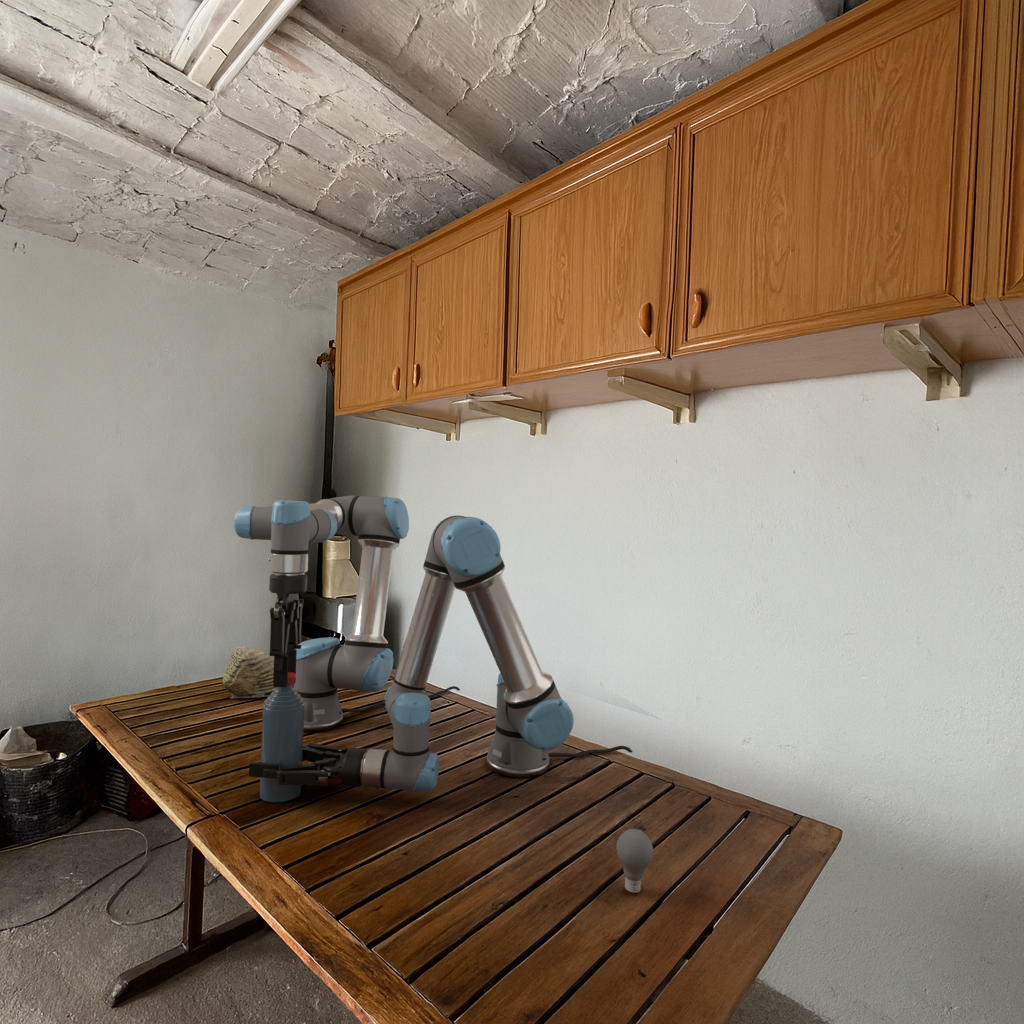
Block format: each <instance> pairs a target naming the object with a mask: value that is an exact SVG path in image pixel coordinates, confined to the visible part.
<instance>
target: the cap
mask: <svg viewBox="0 0 1024 1024" xmlns="http://www.w3.org/2000/svg"><path fill="white" fill-rule="evenodd" d="M295 683H296V673H293V672H288V683H287V686H288V685H292V684H293V685H294V684H295Z"/></svg>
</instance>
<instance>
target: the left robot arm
mask: <svg viewBox="0 0 1024 1024" xmlns="http://www.w3.org/2000/svg"><path fill="white" fill-rule="evenodd" d="M409 518H410V517H409V512H408V509H407V506H406V504H405V502H404V501H403V500H402V499H400V497H399V498H398V497H392V496H387V495H386V496H375V495H374V496H371V495H346V496H345V495H344V496H338V497H337V496H336V497H332V498H331V497H330V498H323V499H320V500H318V501H317V502H315V503H309V502H308V501H307V500H306V501H304V500H283V499H279V500H276V501H274V502H273V504H272V506H255V505H251V506H242V507H240V508H239V509H238V510H237V511H236V513H235V515H234V518H233V529H234V531H235V534H236V535H237V536H238V537H240V538H241V539H246V540H247V539H248V540H251V541H253V540H263V541H270V556H268V562H270V563H269V564H270V565H269V571H270V572H271V574H270V575H269V584H268V585H269V586H268V591H269V592H270V593H272V594H276V601H275V603H274V607H270V609H269V614H270V638H269V655H268V656H269V657H273V661H274V676H273V687H287V683H288V672H293V673H296V683H295V684H293V688H294V689H295V691H297V692H298V694H300V697H302V698H303V701H304V702H305V707H304V733H316V732H325V731H329V730H332V729H335V728H337V727H339V726H340V725H342V723H343V722H344V713H343V712H345V713H346V712H349V713H361V712H366V711H369V710H371V709H373V708H374V709H375V708H377V707H381V706H385V701H383V702H378V703H374V704H371V705H367V706H366V707H363V708H362V707H361V708H344V707H343V708H342V706H341V702H340V699H339V695H338V689H339V690H340V689H341V690H351V691H359V692H363V693H364V692H365V693H366V692H373V693H375V692H379V691H381V690H382V689H383V688H384V687H385V685H386V684H387V683H388V681H389V679H390V676H391V675H392V670H393V668H394V667H393V666H394V661H395V659H394V652H393V651H392V650H391V648H388V645H389V642H388V640H387V639H386V638H385V636H384V631H385V622H386V616H387V615H386V614H387V607H388V598H389V590H390V581H391V574H392V573H391V572H392V566H393V565H392V564H393V558H394V557H393V556H394V551H395V550H397V548H398V547H399V546H400V543H401V540H403V539H405V538H407V536H408V533H409V529H410V519H409ZM336 534H339V535H346V536H355V537H358V539H357V543H359V545H360V546H361V547H362V549H361V556H360V565H359V575H358V580H357V589H356V598H355V603H354V612H353V618H352V619H353V620H352V627H351V633H350V634H349V635H348V636H347V637H346V638H345V639H344V644H340V643H341V641H340V639H339V638H338V637H334V636H333V637H332V636H331V637H318V638H313V639H307V640H304V641H302V622H303V607H304V602H305V601H304V599H303V598H300V596H299V594H304V593H306V592H307V589H308V575H307V574H306V573H307V572H308V571H309V544H314V543H315V544H316V543H319V544H321V543H323V542H327V541H329V540H331V539H332V538H333V537H334V536H335V535H336ZM443 690H444V691H443ZM451 690H456V691H458V692H459V691H461V688H460V687H458V686H455V685H453V686H449V687H447V688H445V689H442V690H439V691H436V692H435V693H432V694H430V695H427V696H428V697H429V699H432V698H434V697H436V696H438V695H443V694H445V693H446V692H449V691H451Z"/></svg>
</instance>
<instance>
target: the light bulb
mask: <svg viewBox="0 0 1024 1024" xmlns="http://www.w3.org/2000/svg"><path fill="white" fill-rule="evenodd" d="M615 849H616V854H617V857H618V859H619V861H620V863H621V865H622V867H623V873H624V874H623V875H624V876H625V878H624V888H625V890H627V891H628V892H630V893H634V894H635V893H639V892H640V891H641V889H642V887H641V886H642V879H643V877H644V875H645V871H646V868H647V867H648V866H649V864H650V863H651V861H652V859H653V855H654V847H653V843H652V841H651V838H649V836H648V835H647V834H646V833H645V832H643V831H642V830H641V829H636V828H629V829H627V830H625V831H623V832H622V833H621V834H620V835H619V837H618V839H617V841H616V847H615Z"/></svg>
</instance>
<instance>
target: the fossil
mask: <svg viewBox="0 0 1024 1024" xmlns="http://www.w3.org/2000/svg"><path fill="white" fill-rule="evenodd" d="M222 676H223V677H222V685H223V687H224V688H225V690H226V691H228V693H229V698H230V699H250V698H264V697H268V696H270V695H271V693H272V692H274V689H276V687H273V676H274V659H272V657H270V655H268V654H267V653H266V652H265V650H264V649H263V648H260V647H258V648H251V647H247V646H246V647H245V646H238V647H237V648H236V649H235V650H233V651H232V653H231V656H230V657H229V659H228V660H227V663H226V666H225V668H224V671H223V675H222Z"/></svg>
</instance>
